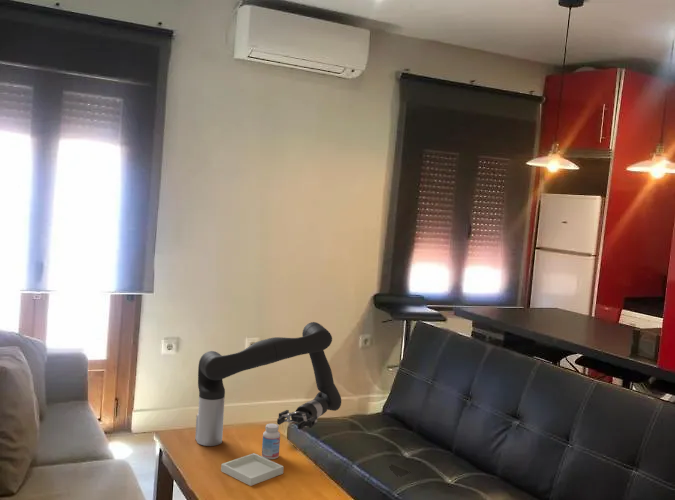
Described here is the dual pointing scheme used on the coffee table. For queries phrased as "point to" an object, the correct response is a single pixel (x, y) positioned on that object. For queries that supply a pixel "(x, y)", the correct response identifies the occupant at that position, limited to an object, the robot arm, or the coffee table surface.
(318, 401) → the robot arm
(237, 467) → the tray
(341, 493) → the coffee table surface
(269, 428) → the pill bottle
